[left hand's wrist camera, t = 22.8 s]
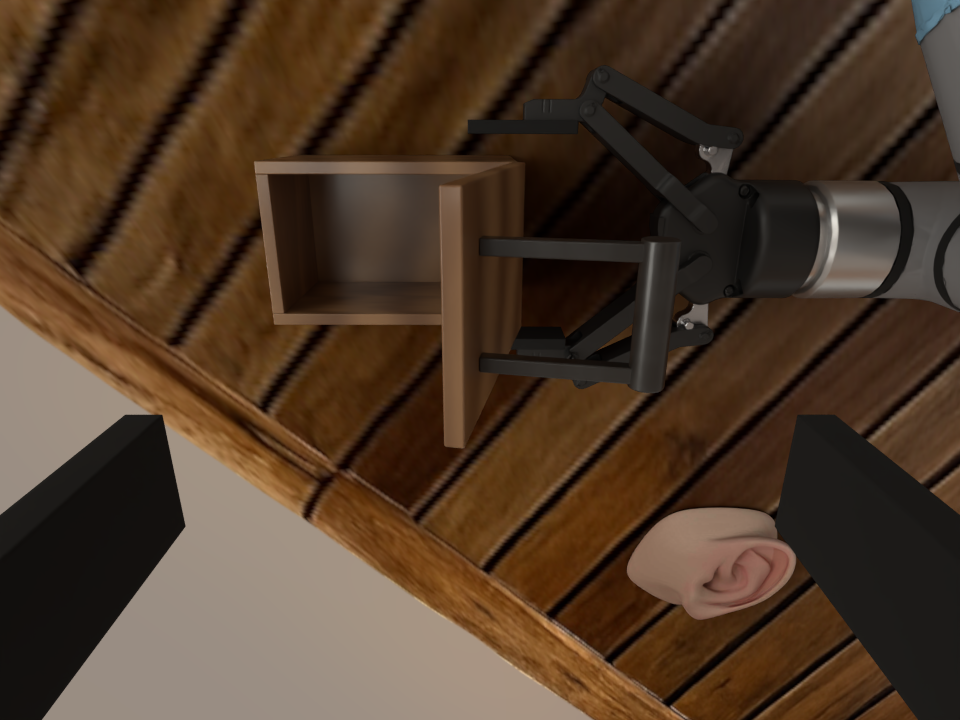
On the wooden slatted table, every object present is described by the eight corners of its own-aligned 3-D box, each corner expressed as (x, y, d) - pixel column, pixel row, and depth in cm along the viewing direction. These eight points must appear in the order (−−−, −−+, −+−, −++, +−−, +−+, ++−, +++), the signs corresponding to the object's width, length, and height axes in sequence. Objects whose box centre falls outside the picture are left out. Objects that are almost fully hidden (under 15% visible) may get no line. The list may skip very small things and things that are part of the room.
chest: (312, 288, 48) (274, 324, 39) (299, 154, 44) (253, 161, 35) (507, 288, 48) (514, 325, 39) (510, 155, 44) (517, 161, 35)
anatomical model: (627, 626, 54) (662, 520, 50) (617, 594, 58) (649, 493, 54) (767, 645, 55) (813, 542, 51) (749, 612, 59) (791, 515, 55)
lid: (443, 447, 24) (663, 470, 22) (437, 184, 20) (699, 189, 19) (507, 327, 38) (643, 335, 37) (511, 162, 35) (661, 163, 33)
